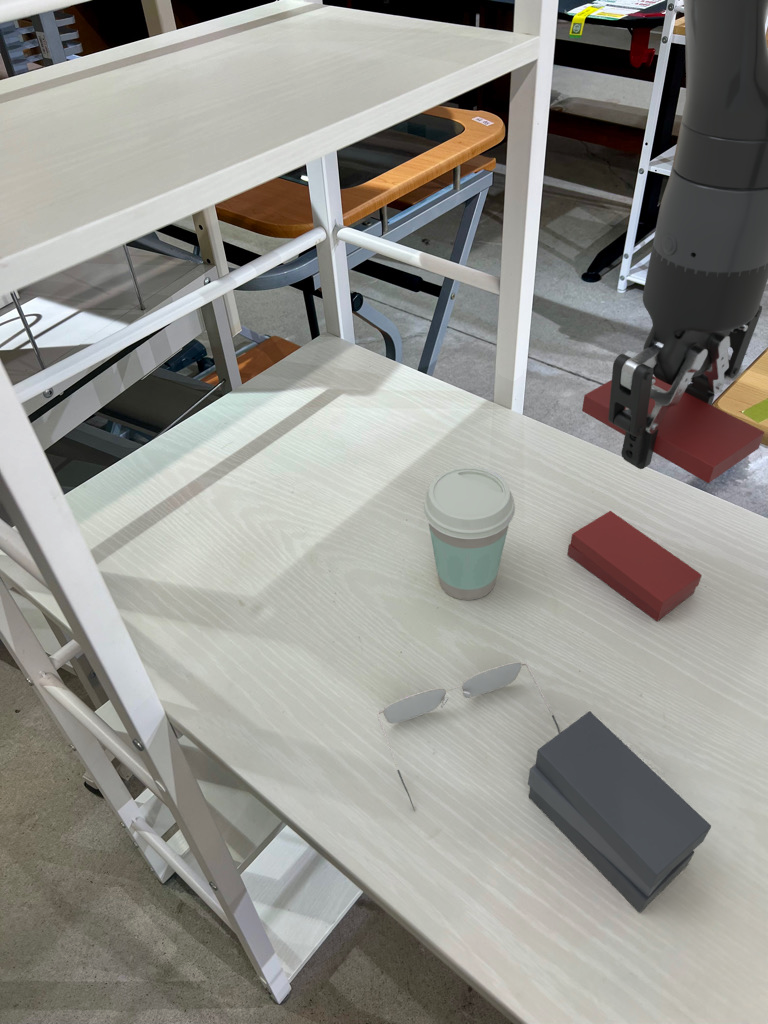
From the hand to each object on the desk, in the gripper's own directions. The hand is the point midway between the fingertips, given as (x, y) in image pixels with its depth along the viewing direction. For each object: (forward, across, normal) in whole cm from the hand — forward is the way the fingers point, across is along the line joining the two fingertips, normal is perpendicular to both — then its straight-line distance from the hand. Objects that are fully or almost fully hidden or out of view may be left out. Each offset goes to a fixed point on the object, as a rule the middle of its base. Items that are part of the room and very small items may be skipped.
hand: (663, 444), depth 60 cm
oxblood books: (+20, +3, +2) cm, 20 cm away
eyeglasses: (+20, -22, -2) cm, 30 cm away
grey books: (+20, -19, -14) cm, 30 cm away
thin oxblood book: (-1, 0, 0) cm, 1 cm away
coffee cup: (+20, -10, +12) cm, 25 cm away
